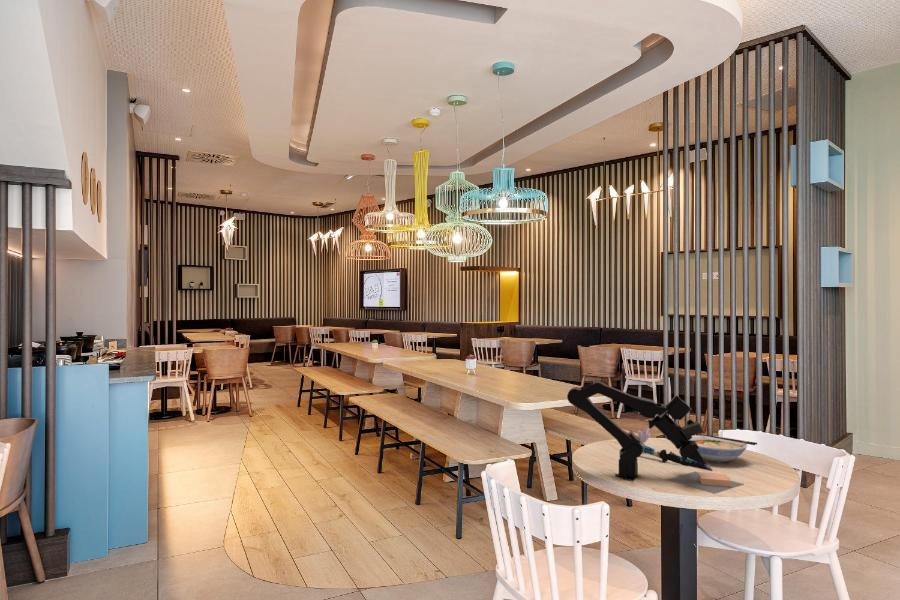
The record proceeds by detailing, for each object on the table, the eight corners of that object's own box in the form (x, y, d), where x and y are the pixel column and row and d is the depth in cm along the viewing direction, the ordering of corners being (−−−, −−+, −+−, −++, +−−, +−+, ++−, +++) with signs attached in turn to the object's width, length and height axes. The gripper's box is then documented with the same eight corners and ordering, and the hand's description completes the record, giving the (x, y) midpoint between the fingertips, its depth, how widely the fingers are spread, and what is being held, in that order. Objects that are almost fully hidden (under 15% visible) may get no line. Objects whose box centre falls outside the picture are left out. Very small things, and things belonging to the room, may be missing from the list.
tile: (701, 478, 189) (730, 480, 187) (697, 471, 197) (725, 474, 195) (701, 485, 189) (730, 487, 187) (697, 478, 197) (725, 480, 195)
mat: (714, 495, 181) (714, 493, 181) (665, 480, 195) (665, 479, 195) (744, 485, 191) (744, 484, 191) (695, 472, 206) (695, 471, 206)
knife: (634, 452, 229) (635, 442, 229) (639, 451, 231) (640, 440, 231) (708, 478, 205) (709, 466, 205) (712, 477, 207) (713, 465, 207)
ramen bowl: (669, 458, 226) (669, 437, 227) (699, 449, 240) (699, 430, 241) (732, 472, 207) (732, 449, 207) (761, 462, 221) (761, 441, 221)
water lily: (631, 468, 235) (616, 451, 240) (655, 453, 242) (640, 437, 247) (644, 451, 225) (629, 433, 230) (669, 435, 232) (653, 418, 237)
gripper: (691, 418, 186) (728, 454, 183) (683, 409, 204) (717, 441, 201) (666, 441, 188) (702, 477, 184) (660, 429, 206) (693, 462, 202)
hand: (704, 463), depth 193 cm, fingers closed
